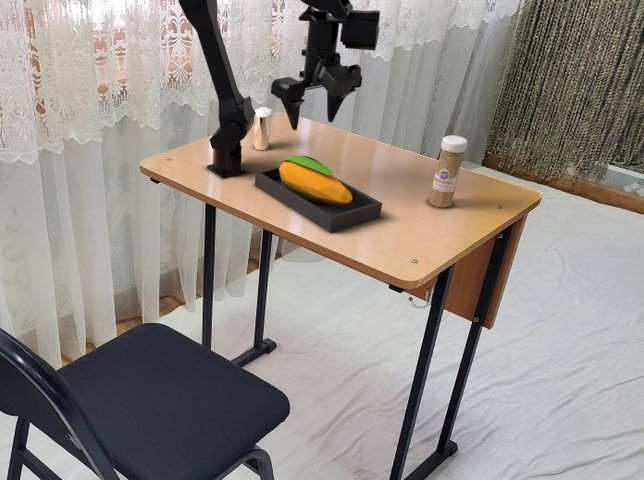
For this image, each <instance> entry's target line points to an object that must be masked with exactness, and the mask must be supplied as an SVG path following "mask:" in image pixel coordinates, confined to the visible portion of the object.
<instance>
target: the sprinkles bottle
mask: <svg viewBox="0 0 644 480" xmlns="http://www.w3.org/2000/svg"><path fill="white" fill-rule="evenodd" d="M467 146H468V140H467V138H465V137H463V136H460V135H446V136H444V137H443V138H442V141H441V144H440V152H439V153H440V154H439V157H438V161H437V166H436V171H435V172H434V178H433V181H432V188H431V192H430V196H429V199H428V202H429V204H430V205H432V206H434V207H436V208H448V207H451V206H453V199H454V194H455V191H456V187H457V184H458V181H459V180H458V179H459V175H460V172H461V167H462V163H463V158H464V155H465V151H466V150H467Z"/></svg>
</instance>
